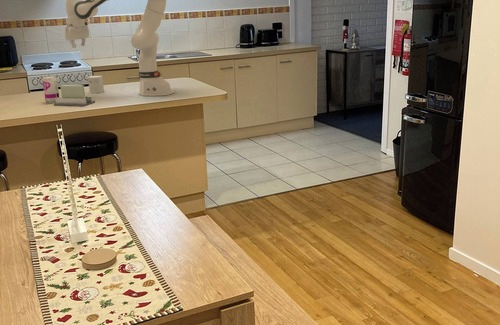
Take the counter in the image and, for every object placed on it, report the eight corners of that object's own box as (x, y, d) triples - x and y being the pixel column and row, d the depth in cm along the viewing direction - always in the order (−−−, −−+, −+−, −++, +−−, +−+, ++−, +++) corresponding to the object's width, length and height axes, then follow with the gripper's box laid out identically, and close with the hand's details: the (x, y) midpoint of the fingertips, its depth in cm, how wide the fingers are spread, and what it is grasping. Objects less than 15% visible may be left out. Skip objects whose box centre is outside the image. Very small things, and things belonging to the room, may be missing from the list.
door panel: (86, 102, 317) (83, 85, 314) (83, 103, 315) (80, 86, 312) (65, 101, 321) (63, 84, 318) (62, 102, 319) (60, 85, 316)
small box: (104, 91, 356) (102, 75, 353) (101, 93, 351) (99, 77, 348) (92, 91, 357) (90, 75, 354) (89, 93, 352) (87, 77, 349)
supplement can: (51, 103, 322) (48, 78, 317) (43, 102, 326) (39, 78, 321) (62, 101, 328) (59, 76, 324) (54, 100, 332) (50, 76, 328)
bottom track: (94, 102, 321) (94, 95, 320) (83, 106, 310) (82, 99, 309) (66, 101, 327) (65, 95, 325) (53, 105, 316) (52, 98, 314)
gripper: (70, 24, 316) (73, 48, 320) (89, 22, 335) (92, 45, 339) (60, 24, 318) (64, 48, 322) (80, 22, 337) (83, 45, 341)
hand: (78, 46), depth 331 cm, fingers open, 8 cm apart
